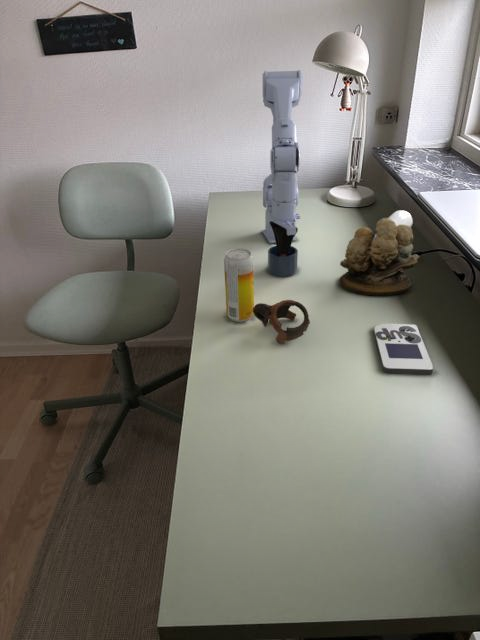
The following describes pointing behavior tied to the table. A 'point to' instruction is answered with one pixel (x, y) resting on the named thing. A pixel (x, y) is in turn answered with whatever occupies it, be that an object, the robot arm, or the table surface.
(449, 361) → the table surface
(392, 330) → the handheld game console
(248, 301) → the beer can
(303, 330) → the brown knobby curled ring
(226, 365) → the table surface
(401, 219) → the white rounded cylinder
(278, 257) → the cup
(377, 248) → the owl figurine
